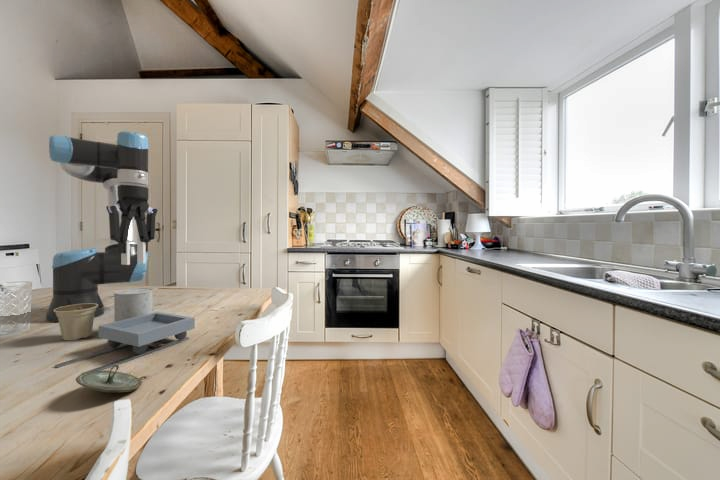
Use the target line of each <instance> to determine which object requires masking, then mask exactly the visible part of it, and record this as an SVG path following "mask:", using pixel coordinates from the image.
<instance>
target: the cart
mask: <svg viewBox="0 0 720 480" xmlns="http://www.w3.org/2000/svg"><path fill="white" fill-rule="evenodd" d="M195 318H196V317H190V316H185V315H179V314H175V313H167V312H161V311H155V312H153V313H150V314H146V315H141V316H137V317H133V318H129V319H125V320H121V321H116V322H115V321H113V322H108V323H104V324H100V325H98V338H99V339H104V340H107V346H108V347H109V348H112V347H113V348H116V347H118V346H120V345H122V344H128V346H133V347H132V352H133V353H134V354H143V353H144V352H145V351H147V350H148V348H149V346H148V345H147V344H149V343H152V342H158V341H160V340H163V339H167V338H169V337H173V336H174V338H175V339H176V340H182V339H184V338H185V337H187V335H188V333H187V331H191V330H194V329H196V328H195V327H196V326H195Z"/></svg>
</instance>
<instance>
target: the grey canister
mask: <svg viewBox="0 0 720 480" xmlns="http://www.w3.org/2000/svg"><path fill="white" fill-rule="evenodd" d="M153 292H154V289H152V288H149V287H147V288H145V287H140V288H136V287H135V288H134V287H133V288H127V289H120V290H116V291H114V293H113V294H114V297H113V298H114V301H113V303H114V322H116V321H121V320H125V319H129V318H133V317H137V316H141V315H146V314H150V313H154V312H153V309H154V308H153V303H154V302H153V298H154V297H153Z"/></svg>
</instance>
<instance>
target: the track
mask: <svg viewBox="0 0 720 480" xmlns="http://www.w3.org/2000/svg"><path fill="white" fill-rule="evenodd" d="M187 340H190V338H189V337H188V336H186V337H185V338H184V339H182V340H179V339H176V340H173V341H170V342H168V343H161V342H157V341H155V342H152V343H149V344H147V345H148V347H153V348H151V349H147V350H146V351H145V352H144V353H143V354H137V353H135V354H132V355H129V356H126V357H125V358H121V359H119V360H115V361H113V362H110V363H107V364H105V365H102V366H99V367H95V368H93V369H90V370H89V369H88V370H87V371H83V372H81V373H80V375H81V374H83V373H86V372H91V371H105V370H106V369H109V368H112V367H113V366H114V365H116V364H118V365H121V364H123V363H126V362H128V361H131V360H134V359H137V358H140V357H142V356H145V355H148V354H151V353H153V352H156V351H159V350H162V349H165V348H168V347H171V346H173V345H177V344H179V343H181V342H184V341H187ZM128 346H129V345H128V344H124V343H121V344H120V346H118V347H116V348H113V347H109V348H106V349H103V350H99V351H96V352H93V353H89V354H86V355H83V356H80V357H77V358H73V359H70V360H67V361H62V362H61V363H58V364H54V368H61V367H65V366H67V365H71V364H74V363H77V362H80V361H83V360H86V359H87V360H88V359H89V358H93V357H96V356H99V355H102V354H105V353H106V354H107V353H108V352H109V353H110V352H112V351H115V350H119V349H121V348H125V347H128Z"/></svg>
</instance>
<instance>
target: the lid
mask: <svg viewBox="0 0 720 480" xmlns="http://www.w3.org/2000/svg"><path fill="white" fill-rule="evenodd" d="M119 365H120V364H116V365H114V366H112V367H110V370H101V371H91V372H87V371H85V372H86V373H84V372H82V373H83V374H81V373H80V374H79V375H78V376H76V378H75V382H76V383H77V384H78V385H79V386H82V387H84V388H87V389H89V390H93V391H97V392H103V393H128V392H134V391H136V390H138V389H139V388H140V386H141V385H142V383H143V380H142V379H140V377H139V378H138V377H137V376H135V375H133V374H129V373H127V372H126V373H125V372H122V371H118V370H119V368H120V367H119ZM115 367H116V369H115V371H114V370H113V369H114V368H115Z"/></svg>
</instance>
